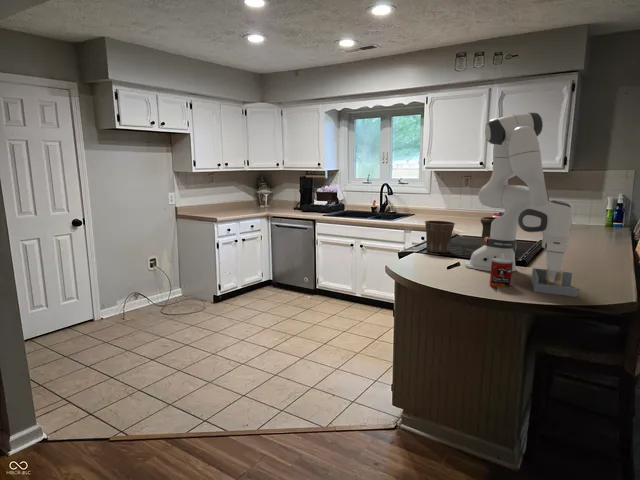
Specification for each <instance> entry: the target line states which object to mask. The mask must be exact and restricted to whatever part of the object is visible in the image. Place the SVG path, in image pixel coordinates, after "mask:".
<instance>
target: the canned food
mask: <svg viewBox="0 0 640 480" xmlns="http://www.w3.org/2000/svg"><path fill="white" fill-rule="evenodd" d="M512 266H513V261H512V260H510V259H507V258H493V259H492V264H491V271H490V277H489V286H490V287H491V288H494V289H498V287H500V288H508V287H510V286H511V283H512V282H511V281H512V274H513V271H512Z"/></svg>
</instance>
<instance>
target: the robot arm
mask: <svg viewBox="0 0 640 480" xmlns="http://www.w3.org/2000/svg"><path fill="white" fill-rule="evenodd" d="M543 127H544V126H543V118H542V117H541V115H540V114H539V113H538V112H532V111H531V112H527V113H515V114H511V115H506V116H502V117H498V118H497V117H495V118H493V119H490V120H488V121H487V123H486V124H485V129H484V135H485V138H486V141H487V143H489V144H491V145H493V146H492V173H491V177H490V179H489V180H488V181H487V183H485V184H484V185H483V186H482V187H481V188H480V190H479V192H478V200H479V203H480V204H481V205H482V206H485V207H489V208H492V209H502V210H503V209H504V212H503V214H502V215H500V216H496V217H497V218H495V219H494V220H493V221H492V223H491V232H490V237H489V238H488V237H485V239H484V240H485V245H484V246H482V245H481V247H479V248H477V249H475V250H474V251H473V252H472V253H471V256H470V259H469V260H466V261H465V264H464V265H465V267H466V268H468V269H475V270H480V271H487V272H491V264H492V259H493V258H507V259H510V260H512V261H513V266H512V272H516V271H517V267H516V259H515V258H516V256H515V253H516V250H517V244H518V243H517V233H518V228H521V230H523V232H527V233H539V232H541V233H542V239H541V240H542V241H541V247H542V248H543V249H544V252H545V253H546V255H545V263H546V267H547V269H548V271H549V282H554V280H555V276H556V273H559V271H560V270H561V268H562V264H563V260H564V255H565V253H566V252H567V251H568V250H569V245H570V244H569V243H570V228H571V227H572V221H573V220H572V219H573V209H572V206H571V204H569V203H568V202H565V201H560V200H550V197H549V192H548V187H547V183H546V180H545V176H544V170H543V169H544V168H543V162H542V153H541V148H540V142H539V139H538V136H540V134H541V133H542V131H543ZM514 177H518V178H519V179H520V180H522V181H523V182H524V184H526V185H527V186H525V185H518V184H517V185H515V184H514V185H513V184H508V183H509V179H511V178H514Z"/></svg>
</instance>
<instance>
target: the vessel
mask: <svg viewBox="0 0 640 480" xmlns="http://www.w3.org/2000/svg"><path fill="white" fill-rule="evenodd" d="M497 217H498V216H494V217H493V216H483V217H481V218H480V223H481V224H482V231H481V232H482V233H481V247H482V246H484V245H485V240H484V239H485V237H488V238H489V237H490V232H491V223H492V221H493V220H494V219H495V218H497Z"/></svg>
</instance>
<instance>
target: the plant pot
mask: <svg viewBox="0 0 640 480" xmlns="http://www.w3.org/2000/svg"><path fill="white" fill-rule="evenodd" d="M424 224H425V231H426V232H425V233H426V237H425V239H426V240H425V242H426V250H427V251H428V252H431V253H442V254H443V253H448V252H450V247H451V241H452V236H453V231H454V227H455V224H456V223H455V222H453V221H445V220H425V221H424Z"/></svg>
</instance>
